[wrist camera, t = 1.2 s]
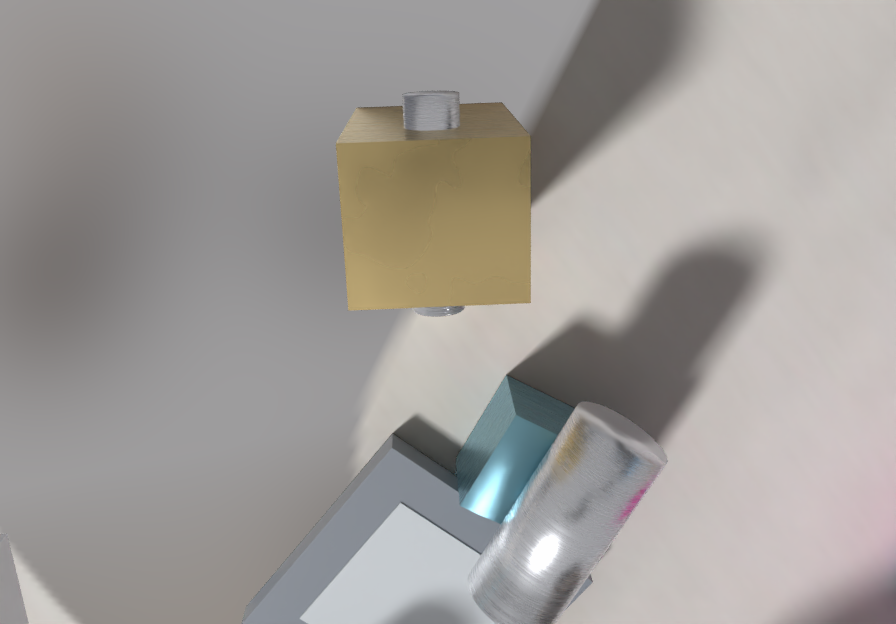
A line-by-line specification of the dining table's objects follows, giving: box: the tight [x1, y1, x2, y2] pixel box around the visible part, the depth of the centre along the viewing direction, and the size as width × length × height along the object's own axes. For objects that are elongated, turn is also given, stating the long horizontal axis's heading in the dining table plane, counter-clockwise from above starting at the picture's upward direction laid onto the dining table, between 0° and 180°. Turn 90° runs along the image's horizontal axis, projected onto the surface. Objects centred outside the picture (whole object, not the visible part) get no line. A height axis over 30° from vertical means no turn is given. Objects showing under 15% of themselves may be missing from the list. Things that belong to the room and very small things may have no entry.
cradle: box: [242, 434, 593, 624], centre depth 31 cm, size 9×9×1 cm
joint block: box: [336, 91, 531, 317], centre depth 23 cm, size 6×4×7 cm
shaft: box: [456, 375, 668, 624], centre depth 27 cm, size 7×5×6 cm
